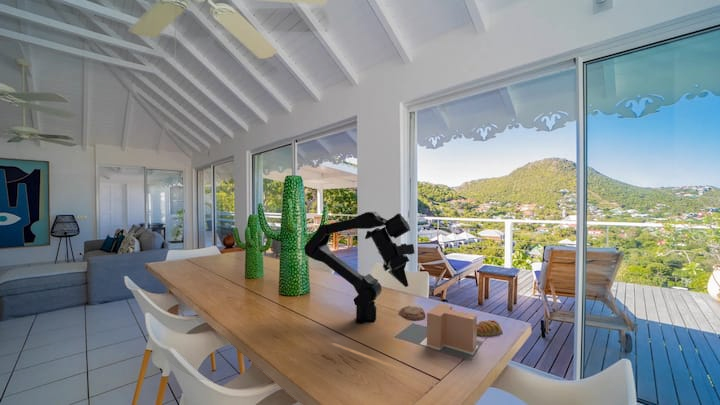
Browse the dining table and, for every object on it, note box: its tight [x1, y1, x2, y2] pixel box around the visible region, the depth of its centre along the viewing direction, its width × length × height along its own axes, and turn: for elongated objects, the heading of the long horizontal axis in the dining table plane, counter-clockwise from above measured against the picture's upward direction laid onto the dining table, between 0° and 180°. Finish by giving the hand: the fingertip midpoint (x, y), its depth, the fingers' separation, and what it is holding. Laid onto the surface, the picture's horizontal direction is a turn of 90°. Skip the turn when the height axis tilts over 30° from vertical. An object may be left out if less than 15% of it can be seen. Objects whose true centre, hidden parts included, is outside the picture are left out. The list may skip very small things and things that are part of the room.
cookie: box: [398, 305, 427, 322], centre depth 106 cm, size 10×11×3 cm
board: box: [394, 322, 484, 362], centre depth 87 cm, size 22×13×1 cm, turn 54°
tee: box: [426, 303, 478, 353], centre depth 84 cm, size 12×10×9 cm
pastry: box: [477, 319, 503, 337], centre depth 93 cm, size 9×7×4 cm
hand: (407, 286), depth 97 cm, fingers closed
